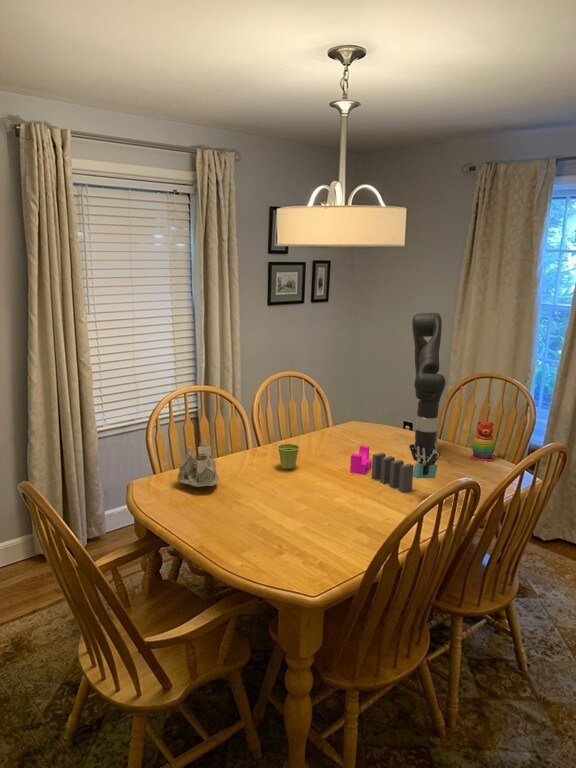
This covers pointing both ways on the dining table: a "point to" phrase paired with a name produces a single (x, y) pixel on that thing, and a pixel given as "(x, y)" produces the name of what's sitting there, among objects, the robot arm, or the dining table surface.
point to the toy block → (361, 461)
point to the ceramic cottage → (198, 468)
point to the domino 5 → (419, 471)
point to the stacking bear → (483, 443)
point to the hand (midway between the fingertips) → (422, 473)
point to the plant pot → (288, 455)
